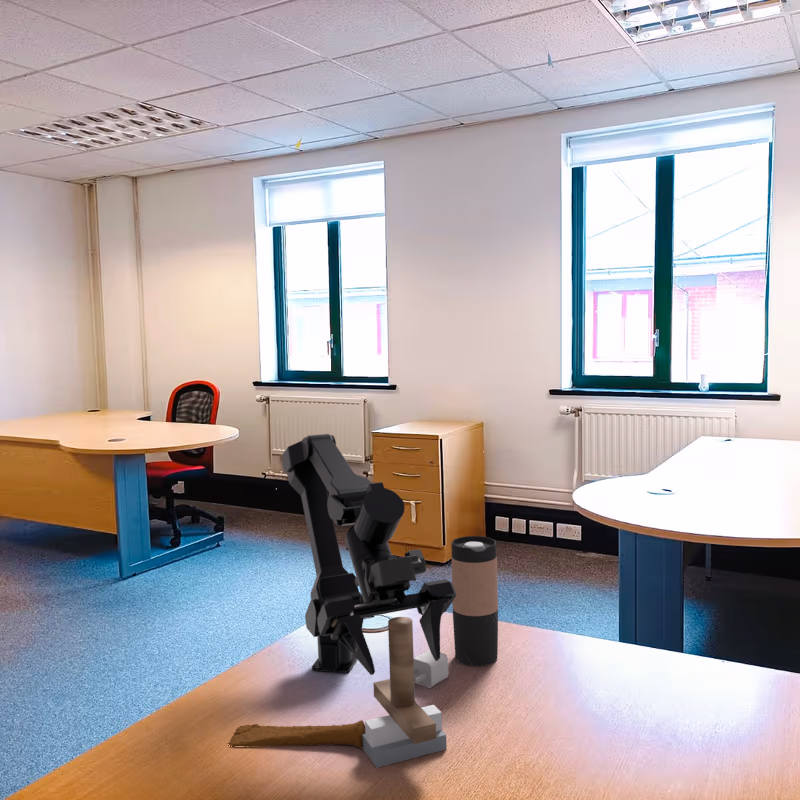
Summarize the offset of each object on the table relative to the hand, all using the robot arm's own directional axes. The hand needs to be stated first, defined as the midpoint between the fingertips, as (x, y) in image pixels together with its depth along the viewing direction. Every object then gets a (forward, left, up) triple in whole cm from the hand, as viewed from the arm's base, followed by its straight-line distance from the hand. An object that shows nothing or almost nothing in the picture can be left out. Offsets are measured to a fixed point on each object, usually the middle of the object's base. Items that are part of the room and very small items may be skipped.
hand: (406, 666), depth 101 cm
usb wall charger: (-21, -2, -12) cm, 24 cm away
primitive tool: (-1, -16, -13) cm, 20 cm away
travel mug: (-31, +5, -12) cm, 34 cm away
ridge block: (-1, -1, -12) cm, 12 cm away
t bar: (-1, -1, -7) cm, 8 cm away
